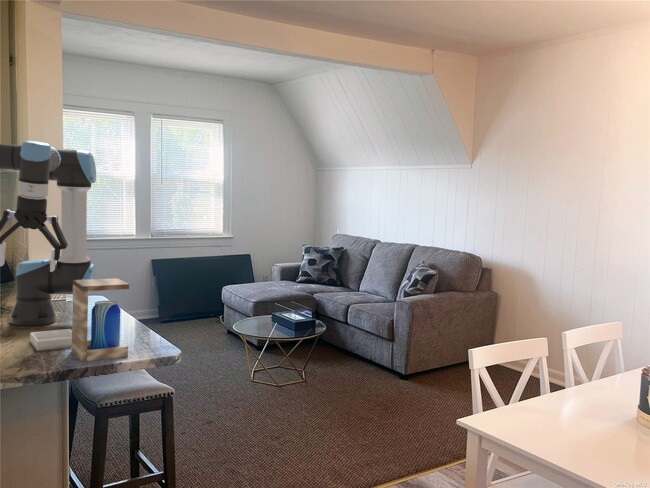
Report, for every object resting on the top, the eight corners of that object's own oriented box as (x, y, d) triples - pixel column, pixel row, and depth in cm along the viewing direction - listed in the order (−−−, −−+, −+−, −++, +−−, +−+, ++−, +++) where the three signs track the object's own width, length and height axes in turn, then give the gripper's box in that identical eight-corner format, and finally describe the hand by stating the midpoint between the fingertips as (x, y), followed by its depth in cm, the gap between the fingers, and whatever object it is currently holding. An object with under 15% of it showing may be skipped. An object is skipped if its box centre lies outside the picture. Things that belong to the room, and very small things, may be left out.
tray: (30, 341, 182) (30, 332, 182) (69, 337, 190) (70, 328, 190) (37, 350, 173) (37, 341, 172) (78, 346, 180) (79, 337, 180)
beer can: (97, 348, 179) (98, 299, 178) (123, 349, 179) (124, 300, 178) (85, 355, 171) (86, 304, 170) (112, 357, 171) (114, 306, 169)
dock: (81, 361, 165) (83, 286, 163) (71, 350, 175) (72, 279, 173) (127, 355, 173) (129, 284, 171) (115, 345, 183) (116, 278, 181)
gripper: (-22, 191, 151) (-26, 266, 156) (76, 205, 158) (70, 276, 162) (-12, 188, 159) (-16, 259, 163) (82, 200, 165) (75, 269, 169)
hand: (27, 267), depth 162 cm, fingers open, 13 cm apart
